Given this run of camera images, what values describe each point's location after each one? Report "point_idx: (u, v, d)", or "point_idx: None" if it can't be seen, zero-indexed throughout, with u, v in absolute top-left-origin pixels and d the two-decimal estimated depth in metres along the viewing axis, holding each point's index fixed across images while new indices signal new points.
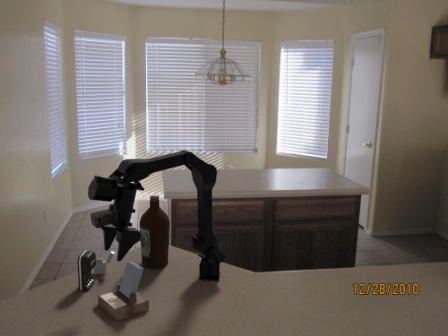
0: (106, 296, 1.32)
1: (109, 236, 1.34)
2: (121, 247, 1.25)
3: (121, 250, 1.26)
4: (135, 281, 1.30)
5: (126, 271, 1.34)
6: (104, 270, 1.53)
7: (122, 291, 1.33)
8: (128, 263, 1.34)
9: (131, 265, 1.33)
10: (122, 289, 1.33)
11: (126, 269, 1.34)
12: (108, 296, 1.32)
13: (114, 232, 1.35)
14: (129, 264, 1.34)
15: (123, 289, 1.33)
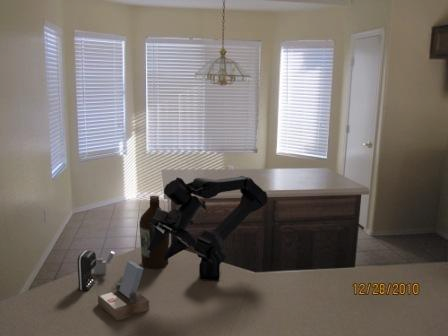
0: (106, 296, 1.32)
1: (157, 239, 1.42)
2: (173, 247, 1.34)
3: (172, 249, 1.34)
4: (135, 281, 1.30)
5: (126, 271, 1.34)
6: (104, 270, 1.53)
7: (122, 291, 1.33)
8: (128, 263, 1.34)
9: (131, 265, 1.33)
10: (122, 289, 1.33)
11: (126, 269, 1.34)
12: (108, 296, 1.32)
13: (161, 238, 1.44)
14: (129, 264, 1.34)
15: (123, 289, 1.33)
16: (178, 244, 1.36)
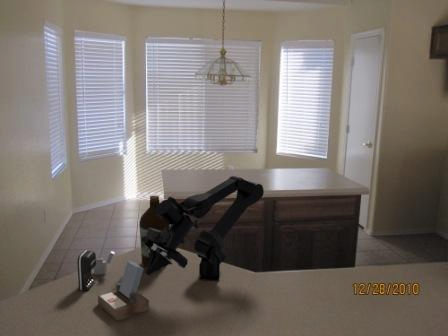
0: (106, 296, 1.32)
1: None
2: (156, 262, 1.36)
3: (155, 265, 1.36)
4: (135, 281, 1.30)
5: (126, 271, 1.34)
6: (104, 270, 1.53)
7: (122, 291, 1.33)
8: (128, 263, 1.34)
9: (131, 265, 1.33)
10: (122, 289, 1.33)
11: (126, 269, 1.34)
12: (108, 296, 1.32)
13: None
14: (129, 264, 1.34)
15: (123, 289, 1.33)
16: (161, 260, 1.37)
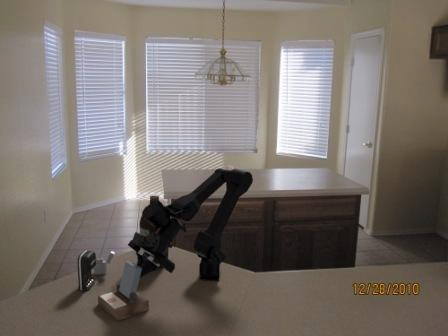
0: (106, 296, 1.32)
1: None
2: (143, 267, 1.33)
3: (142, 270, 1.33)
4: (134, 281, 1.30)
5: (125, 271, 1.34)
6: (104, 270, 1.53)
7: (122, 291, 1.33)
8: (126, 263, 1.34)
9: (129, 265, 1.32)
10: (122, 289, 1.33)
11: (124, 269, 1.34)
12: (108, 296, 1.32)
13: None
14: (127, 264, 1.33)
15: (122, 289, 1.33)
16: (148, 264, 1.35)
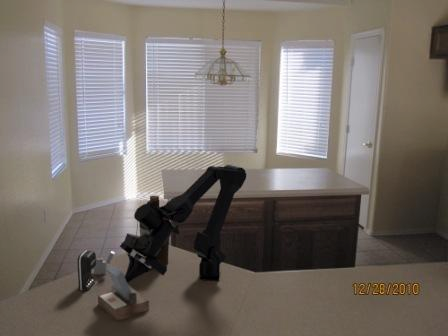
0: (106, 296, 1.32)
1: None
2: (135, 269, 1.31)
3: (133, 272, 1.32)
4: (122, 286, 1.28)
5: (111, 278, 1.31)
6: (104, 270, 1.53)
7: (120, 294, 1.33)
8: (108, 271, 1.30)
9: (111, 273, 1.29)
10: (119, 292, 1.33)
11: (110, 276, 1.31)
12: (108, 296, 1.32)
13: None
14: (109, 272, 1.30)
15: (119, 292, 1.32)
16: (140, 266, 1.33)
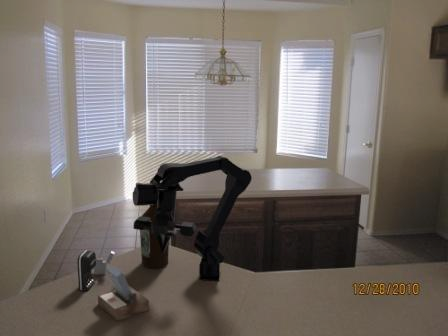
0: (106, 296, 1.32)
1: (162, 238, 1.43)
2: None
3: (167, 242, 1.43)
4: (122, 286, 1.28)
5: (111, 278, 1.31)
6: (104, 270, 1.53)
7: (120, 294, 1.33)
8: (108, 271, 1.30)
9: (111, 273, 1.29)
10: (119, 292, 1.33)
11: (110, 276, 1.31)
12: (108, 296, 1.32)
13: None
14: (109, 272, 1.30)
15: (119, 292, 1.32)
16: None
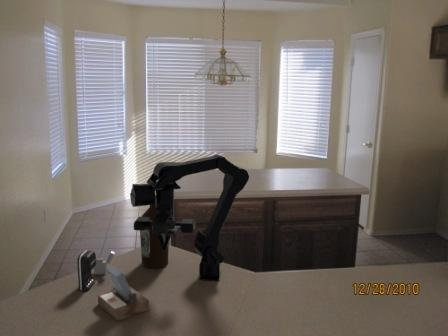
0: (106, 296, 1.32)
1: (163, 237, 1.44)
2: None
3: (168, 240, 1.43)
4: (122, 286, 1.28)
5: (111, 278, 1.31)
6: (104, 270, 1.53)
7: (120, 294, 1.33)
8: (108, 271, 1.30)
9: (111, 273, 1.29)
10: (119, 292, 1.33)
11: (110, 276, 1.31)
12: (108, 296, 1.32)
13: None
14: (109, 272, 1.30)
15: (119, 292, 1.32)
16: None
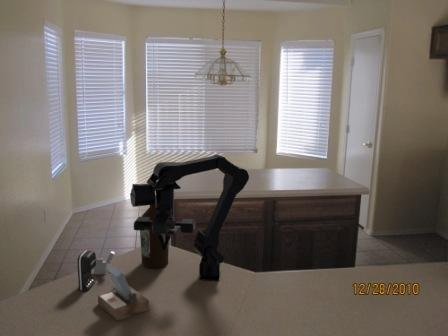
0: (106, 296, 1.32)
1: (163, 237, 1.44)
2: None
3: (168, 240, 1.43)
4: (122, 286, 1.28)
5: (111, 278, 1.31)
6: (104, 270, 1.53)
7: (120, 294, 1.33)
8: (108, 271, 1.30)
9: (111, 273, 1.29)
10: (119, 292, 1.33)
11: (110, 276, 1.31)
12: (108, 296, 1.32)
13: None
14: (109, 272, 1.30)
15: (119, 292, 1.32)
16: None
